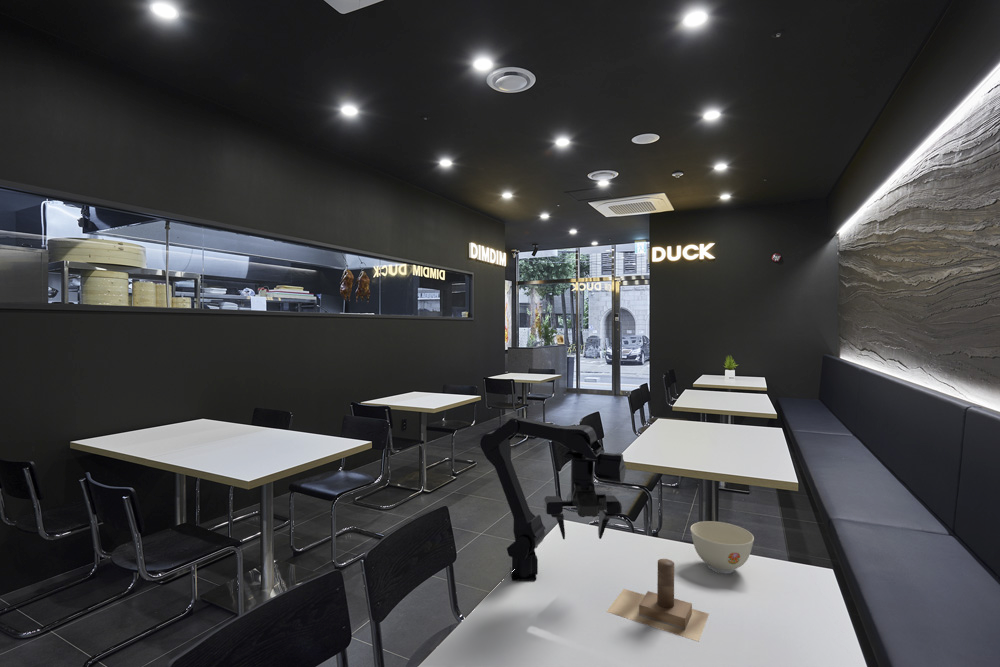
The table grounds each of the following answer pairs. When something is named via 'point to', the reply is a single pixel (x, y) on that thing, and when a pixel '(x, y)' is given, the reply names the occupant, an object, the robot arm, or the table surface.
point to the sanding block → (665, 600)
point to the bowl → (722, 545)
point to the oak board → (629, 609)
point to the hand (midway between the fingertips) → (581, 538)
